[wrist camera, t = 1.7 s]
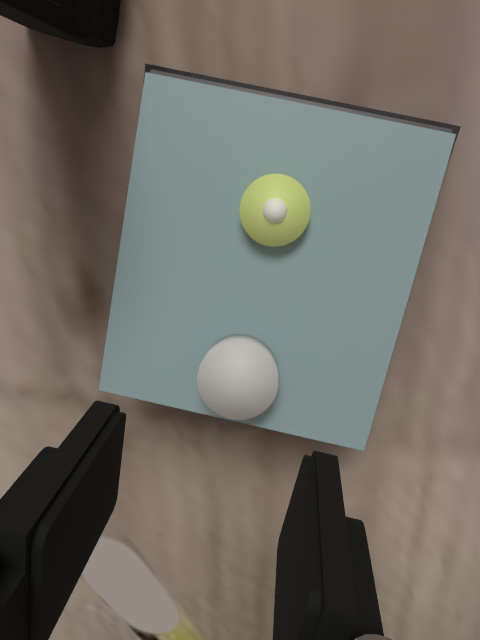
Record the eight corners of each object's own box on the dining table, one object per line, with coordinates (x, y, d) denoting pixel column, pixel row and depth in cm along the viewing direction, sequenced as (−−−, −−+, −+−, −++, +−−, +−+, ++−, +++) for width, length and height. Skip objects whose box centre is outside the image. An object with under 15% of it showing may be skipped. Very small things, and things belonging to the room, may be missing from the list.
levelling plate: (155, 72, 27) (135, 48, 23) (447, 131, 26) (474, 115, 23) (108, 381, 31) (85, 401, 28) (359, 439, 30) (370, 467, 27)
